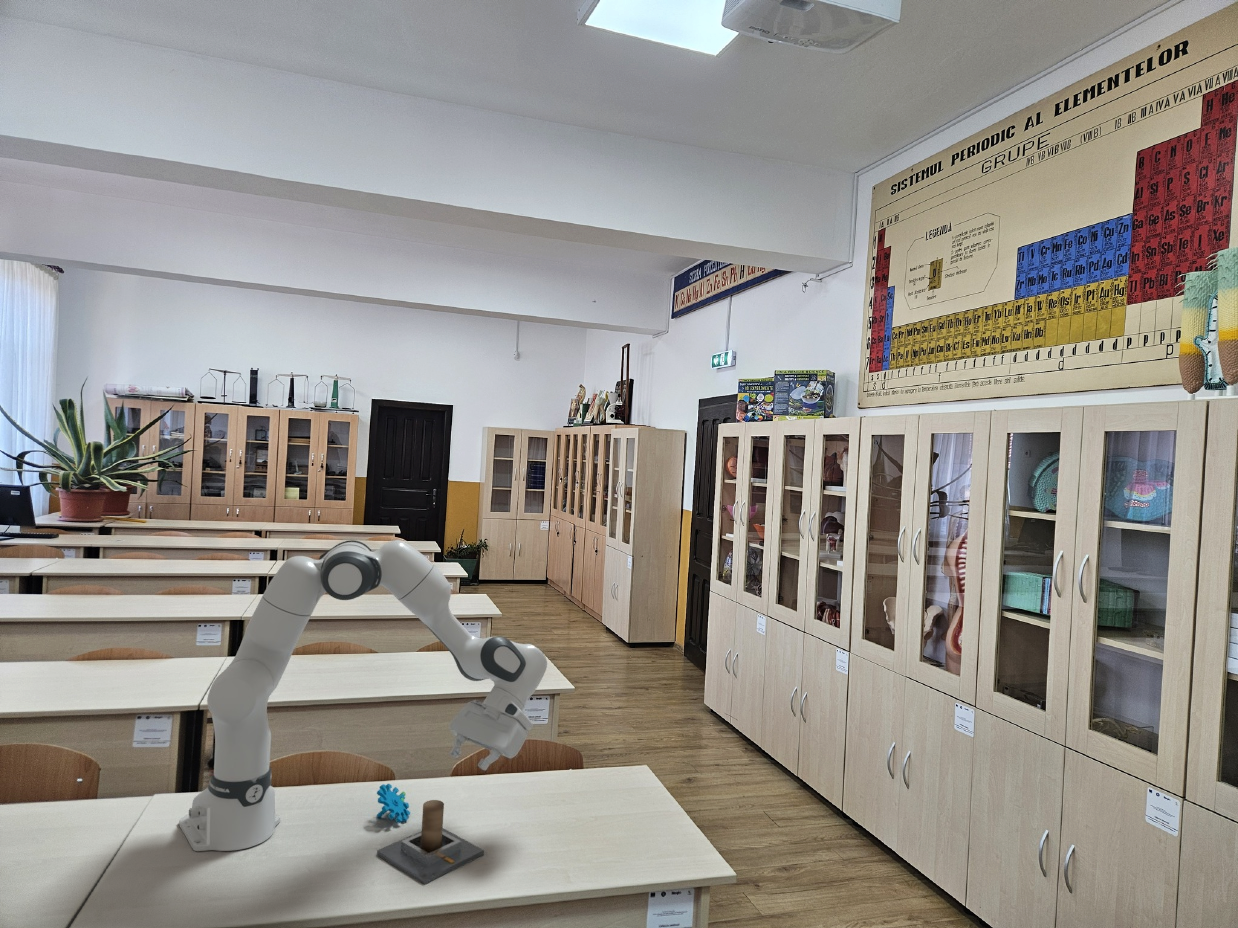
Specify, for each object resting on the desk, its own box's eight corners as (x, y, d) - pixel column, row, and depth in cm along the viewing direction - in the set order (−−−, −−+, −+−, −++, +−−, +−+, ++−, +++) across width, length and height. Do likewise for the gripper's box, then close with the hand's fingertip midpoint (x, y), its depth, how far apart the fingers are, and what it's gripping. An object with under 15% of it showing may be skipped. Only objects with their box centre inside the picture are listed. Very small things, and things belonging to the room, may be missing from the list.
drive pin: (416, 850, 168) (418, 804, 168) (432, 842, 171) (435, 797, 171) (429, 857, 165) (431, 811, 165) (445, 850, 169) (448, 804, 169)
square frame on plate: (376, 854, 167) (377, 840, 167) (436, 828, 180) (437, 815, 180) (424, 884, 157) (425, 869, 157) (483, 854, 170) (484, 840, 170)
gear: (399, 824, 177) (374, 788, 179) (380, 841, 177) (355, 804, 179) (420, 810, 188) (396, 775, 190) (401, 825, 188) (378, 790, 190)
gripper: (464, 690, 187) (429, 741, 179) (525, 712, 174) (490, 768, 167) (477, 704, 191) (444, 755, 183) (538, 727, 178) (504, 782, 171)
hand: (466, 761), depth 175 cm, fingers open, 8 cm apart
